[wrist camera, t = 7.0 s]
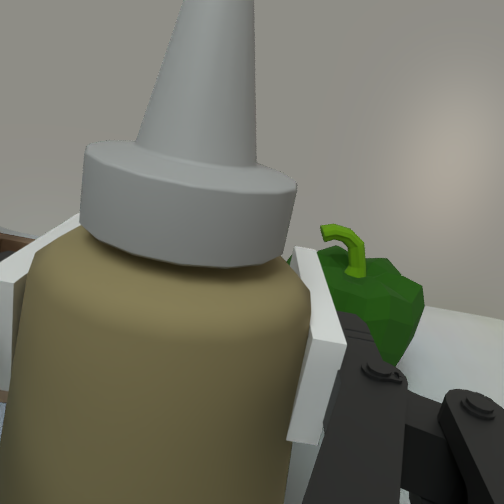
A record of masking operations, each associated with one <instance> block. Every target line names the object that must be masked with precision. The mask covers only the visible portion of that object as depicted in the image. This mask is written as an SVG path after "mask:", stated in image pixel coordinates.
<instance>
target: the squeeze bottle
mask: <svg viewBox="0 0 504 504" xmlns="http://www.w3.org/2000/svg"><path fill="white" fill-rule="evenodd" d="M254 36H255V34H254V0H183V3H182V6H181V9H180V12H179V15H178V18H177V21H176V24H175V27H174V30H173V33H172V36H171V39H170V42H169V45H168V48H167V51H166V54H165V57H164V59H163V62H162V65H161V68H160V72H159V75H158V78H157V80H156V83H155V86H154V89H153V92H152V95H151V98H150V101H149V104H148V107H147V110H146V113H145V115H144V119H143V122H142V124H141V127H140V130H139V133H138V136H137V139H136V141H114V140H108V141H107V140H106V141H100V142H96V143H90V144H89V145H88V146H86V149H85V154H84V165H83V178H82V191H81V204H80V217H79V223H80V224H81V225H80V226H78V227H76V228H74V229H73V230H71V231H69V232H67V233H65V234H64V235H62V236H60V237H58V238H57V239H55V240H54V241H52V242H51V243H49V244H47V245H46V246H44V247H43V248H41V249H40V250H38V251H37V252H35V255H34V258H33V260H32V263H31V266H30V269H29V271H28V274H27V279H26V285H25V292H24V298H23V304H22V310H21V316H20V323H19V329H18V335H17V341H16V348H15V354H14V360H13V366H12V372H11V379H10V385H9V391H8V397H7V403H6V410H5V416H4V422H3V428H2V435H1V441H0V504H284V497H285V490H286V483H287V476H288V469H289V463H290V456H291V449H292V442H293V441H287V440H286V438H287V433H288V428H289V424H290V419H291V414H292V410H293V405H294V400H295V395H296V391H297V386H298V381H299V377H300V372H301V367H302V363H303V358H304V353H305V349H306V344H307V339H308V332H309V325H310V319H311V295H310V290H309V289H308V288H307V286H306V285H305V284H304V283H303V281H302V280H301V279H300V277H299V276H298V275H297V274H296V272H295V271H294V270H293V269H292V268H291V267H290V266H289V264H288V263H287V262H286V261H285V260H284V259H283V258H282V257H281V256H280V255H282V254H283V250H284V246H285V242H286V237H287V233H288V228H289V224H290V219H291V215H292V211H293V206H294V202H295V197H296V193H297V183H296V181H295V180H294V179H292V178H291V177H289V176H288V175H286V174H284V173H282V172H281V171H278V170H275V169H272V168H270V167H267V166H264V165H261V164H258V163H257V162H256V104H255V103H256V100H255V42H254V41H255V39H254Z"/></svg>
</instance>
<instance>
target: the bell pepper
mask: <svg viewBox="0 0 504 504" xmlns="http://www.w3.org/2000/svg"><path fill="white" fill-rule="evenodd" d="M320 229H321V233H322V236H323V240H324V242H327V241H330V240H338V241H342V242H343V243H344V244H345V245H346V246H347V247H348V252H347V251H346V250H344V249H343V248H341V247H339V246H332V247H329V248H326V249H323V250H319V251H318V252H317V255H318V258H319V261H320V264H321V267H322V270H323V273H324V276H325V279H326V282H327V285H328V288H329V292H330V295H331V298H332V301H333V304H334V307H335V310H336V311H341V312H347V313H352V314H356V315H357V316H358V317H360V318H361V319H362V320H363V321H364V322H365V323H366V324H367V326H368V328H369V330H370V333H371V335H372V337H373V339H374V343H375V344H376V346H377V348H378V350H379V353H380V355H381V357H382V359H383V361H385V362H387V363H389V364H391V365H393V366H394V367H395V366H396V365H397V363H398V362H399V360H400V359H401V357H402V356H403V354H404V352H405V351H406V349H407V347H408V345H409V344H410V342H411V340H412V339H413V337H414V334H415V332H416V329H417V326H418V323H419V321H420V318H421V315H422V312H423V310H424V307H425V305H424V296H423V288H422V286H421V285H419V284H417V283H416V282H413V281H411V280H410V279H408V278H406V277H404V276H401V274H400V273H399V271H398V270H397V269H396V268H395V267H394V266H393V264H392V263H391V262H390V261H389V260H388V259H387V258H366V259H365V248H364V242H363V241H362V240H361V239H360V238H359V237H358V236H357V235H356V234H355V233H354V232H353V231H352V230H351V229H350V228H346V227H343V226H340V225H336V224H328V225H322V226H320ZM291 258H292V255H291V257H290V258H289V259H288V261H287V263H288V264H289V266H290V262H291Z"/></svg>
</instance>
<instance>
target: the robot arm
mask: <svg viewBox="0 0 504 504" xmlns="http://www.w3.org/2000/svg"><path fill="white" fill-rule="evenodd" d="M79 217H80V212H79V213H77V214H76V215H74V216H72V217H71V218H69V219H68V220H66V221H65V222H63V223H62V224H60V225H58V226H57V227H55V228H54V229H52V230H50V231H49V232H47V233H46V234H44V235H42V236H41V237H39V238H38V239H36V240H34V241H33V242H31V243H30V244H28V245H27V246H25V247H23V248H22V249H20V250H19V251H17V252H14V251H5V252H1V253H0V390H4V391H9V385H10V379H11V372H12V366H13V360H14V354H15V348H16V341H17V335H18V329H19V323H20V316H21V310H22V304H23V298H24V292H25V285H26V279H27V274H28V271H29V269H30V266H31V263H32V260H33V258H34V255H35V252H37V251H38V250H40V249H41V248H43V247H44V246H46V245H47V244H49V243H51V242H52V241H54V240H55V239H57V238H58V237H60V236H62V235H64V234H65V233H67V232H69V231H71V230H73V229H74V228H76V227H78V226H80V225H81V224H80V223H79ZM290 267H291V268H292V269H293V270H294V271H295V272H296V274H297V275H298V276H299V277H300V279H301V280H302V281H303V283H304V284H305V285H306V286H307V288H308V289H309V290H310V295H311V319H310V325H309V332H308V339H307V344H306V349H305V353H304V358H303V363H302V367H301V372H300V377H299V381H298V386H297V391H296V395H295V400H294V405H293V410H292V414H291V419H290V424H289V428H288V433H287V438H286V440H287V441H293V442H299V443H304V444H310V445H316V446H318V443H319V439H320V436H321V433H322V429H323V427H324V432H325V435H324V438H323V441H322V444H321V447H320V450H319V453H318V456H317V459H316V462H315V465H314V468H313V471H312V474H311V477H310V480H309V483H308V486H307V489H306V492H305V495H304V498H303V501H302V504H399V499H400V488H402V489H404V490H406V491H409V499H410V503H411V504H504V409H503V408H502V407H501V406H499V405H498V404H496V403H495V402H494V401H493V400H492V399H490V398H488V397H487V396H484V395H482V394H480V393H477V392H472V391H469V390H462V389H454V390H449V391H448V392H447V394H446V395H445V397H444V400H443V402H442V403H439V402H436V401H433V400H431V399H428V398H425V397H423V396H420V395H418V394H415V393H413V392H411V391H409V390H407V388H408V382H407V379H406V377H405V375H404V374H403V373H402V372H401V371H400V370H399V369H397V368H396V367H394V366H393V365H391V364H389V363H387V362H385V361H383V359H382V357H381V355H380V353H379V350H378V348H377V346H376V344H375V343H374V339H373V337H372V335H371V333H370V330H369V328H368V326H367V324H366V323H365V322H364V321H363V320H362V319H361V318H360V317H358V316H357V315H356V314H352V313H347V312H341V311H336V310H335V307H334V304H333V301H332V298H331V295H330V292H329V288H328V285H327V282H326V279H325V276H324V273H323V270H322V267H321V264H320V261H319V258H318V255H317V252H316V250H315V249H310V248H304V247H299V246H294V250H293V254H292V258H291V262H290Z"/></svg>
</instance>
